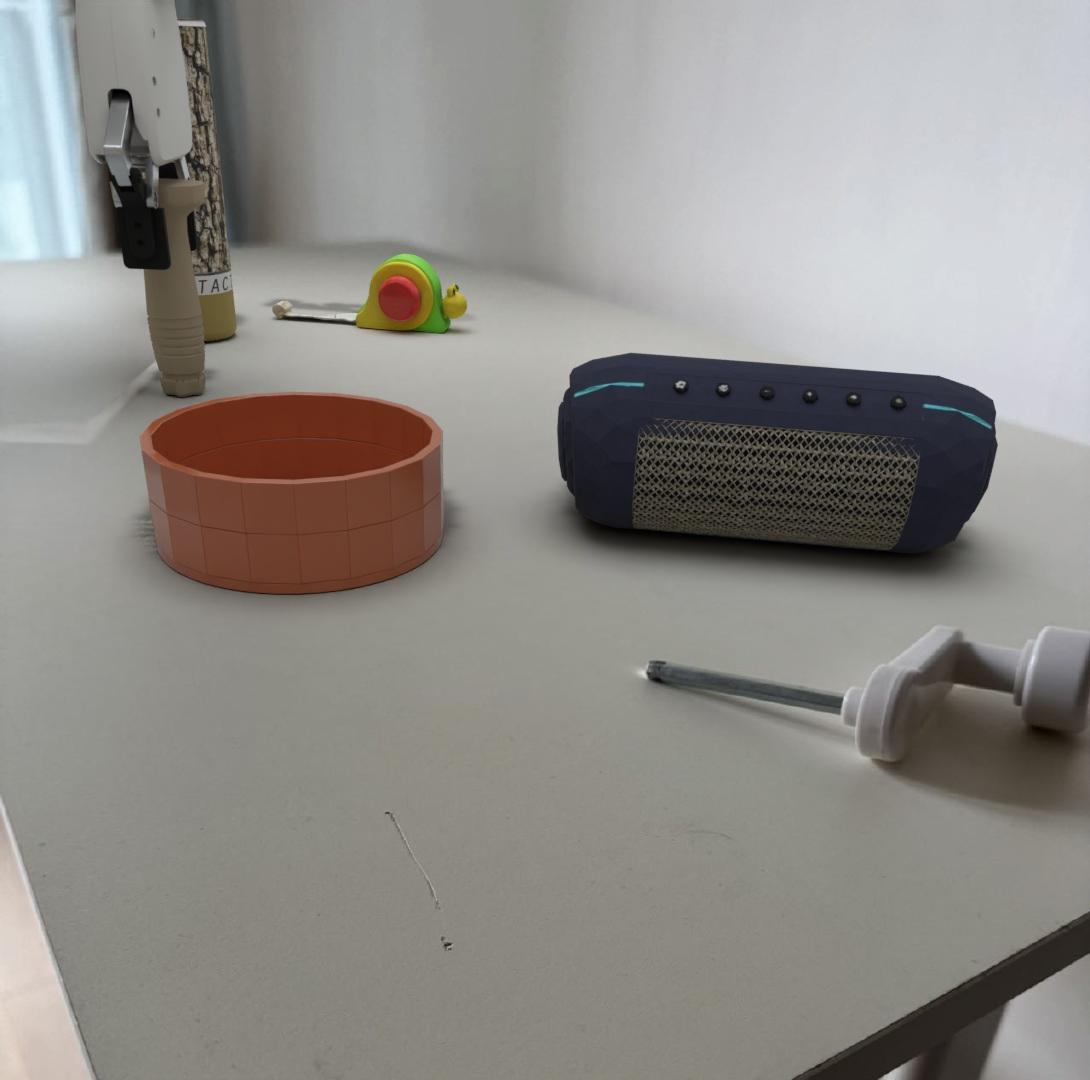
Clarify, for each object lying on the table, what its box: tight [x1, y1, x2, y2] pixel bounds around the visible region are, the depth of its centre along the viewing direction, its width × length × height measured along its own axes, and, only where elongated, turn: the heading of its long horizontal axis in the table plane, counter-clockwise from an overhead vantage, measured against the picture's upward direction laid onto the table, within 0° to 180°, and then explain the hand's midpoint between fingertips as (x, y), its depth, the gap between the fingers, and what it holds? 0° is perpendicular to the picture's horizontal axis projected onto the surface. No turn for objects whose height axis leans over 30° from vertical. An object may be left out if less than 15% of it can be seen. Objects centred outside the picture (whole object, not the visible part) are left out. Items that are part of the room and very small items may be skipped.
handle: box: [109, 178, 206, 398], centre depth 85 cm, size 5×6×15 cm
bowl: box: [139, 391, 445, 595], centre depth 64 cm, size 16×16×6 cm
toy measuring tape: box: [271, 253, 468, 334], centre depth 109 cm, size 6×19×7 cm, turn 80°
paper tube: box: [136, 17, 238, 342], centre depth 98 cm, size 7×7×25 cm
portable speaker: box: [556, 352, 999, 554], centre depth 65 cm, size 25×10×10 cm, turn 82°
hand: (162, 256), depth 83 cm, fingers open, 7 cm apart
